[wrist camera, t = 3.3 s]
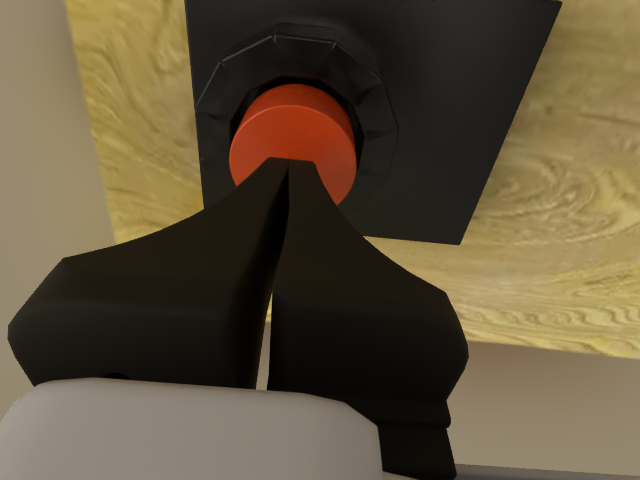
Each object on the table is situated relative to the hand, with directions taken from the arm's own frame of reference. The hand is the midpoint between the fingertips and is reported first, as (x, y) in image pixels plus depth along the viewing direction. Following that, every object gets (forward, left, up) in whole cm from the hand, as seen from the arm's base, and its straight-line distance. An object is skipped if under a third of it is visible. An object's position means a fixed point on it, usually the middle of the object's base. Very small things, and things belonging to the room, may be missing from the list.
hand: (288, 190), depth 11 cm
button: (0, 0, -3) cm, 3 cm away
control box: (-2, -1, -7) cm, 7 cm away
